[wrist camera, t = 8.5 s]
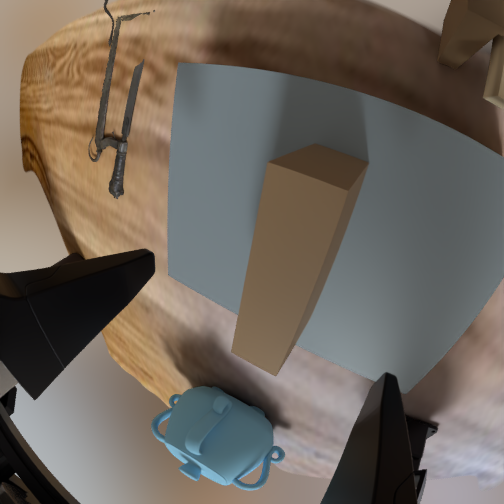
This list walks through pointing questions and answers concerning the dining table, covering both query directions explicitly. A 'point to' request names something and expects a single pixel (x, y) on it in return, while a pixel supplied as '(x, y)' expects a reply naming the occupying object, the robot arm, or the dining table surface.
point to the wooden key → (496, 74)
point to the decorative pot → (218, 436)
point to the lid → (330, 220)
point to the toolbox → (469, 29)
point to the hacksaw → (121, 145)
